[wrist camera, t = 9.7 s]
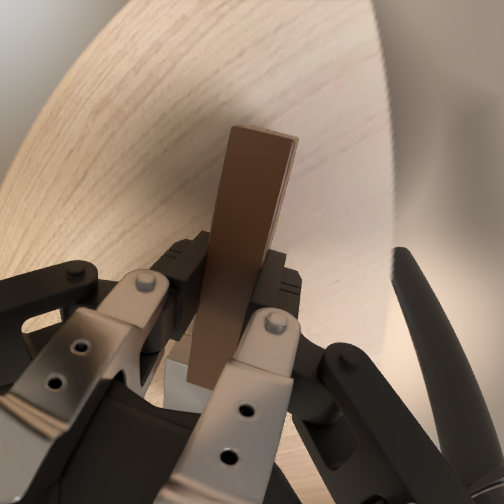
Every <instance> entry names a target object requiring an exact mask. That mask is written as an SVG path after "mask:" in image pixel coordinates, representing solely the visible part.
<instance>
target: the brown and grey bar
mask: <svg viewBox="0 0 504 504" xmlns="http://www.w3.org/2000/svg"><path fill="white" fill-rule="evenodd" d="M298 141H299V138H298V137H295V136H292V135H288V134H284V133H280V132H276V131H272V130H268V129H263V128H259V127H255V126H233V127H232V128H231V132H230V136H229V141H228V145H227V150H226V155H225V159H224V164H223V169H222V174H221V178H220V183H219V188H218V193H217V198H216V203H215V208H214V214H213V219H212V224H211V229H210V235H209V240H208V245H207V251H206V252H207V258H206V263H205V269H204V274H203V280H202V286H201V292H200V298H199V304H198V310H197V312H196V316H195V323H194V329H193V336H192V337H191V336H189V335H186V334H184V335H183V336H182V338H181V340H180V342H178V341H176V342H175V344H174V346H173V347H172V349H171V350H170V352H169V354H168V355H167V357H166V366H165V382H164V401H163V408H165V409H171V410H178V411H185V412H193V413H202V412H203V410H204V408H205V406H206V404H207V402H208V400H209V398H210V395H211V393H212V391H213V389H214V387H215V385H216V383H217V381H218V379H219V377H220V375H221V373H222V371H223V369H224V367H225V364H226V362H227V361H228V359H229V358H232V357H233V355H234V353H235V351H236V348H237V344H238V340H239V337H240V333H241V329H242V325H243V322H244V318H245V314H246V310H247V307H248V303H249V300H250V297H251V294H252V291H253V289H254V286H255V283H256V280H257V277H258V275H259V272H260V269H262V268H263V265H264V262H265V259H266V256H267V253H268V250H269V249H270V247H271V243H272V240H273V236H274V232H275V229H276V225H277V221H278V218H279V214H280V210H281V206H282V203H283V199H284V195H285V191H286V187H287V184H288V180H289V176H290V172H291V168H292V165H293V161H294V157H295V153H296V149H297V145H298Z"/></svg>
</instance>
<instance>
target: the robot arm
mask: <svg viewBox="0 0 504 504" xmlns="http://www.w3.org/2000/svg"><path fill="white" fill-rule="evenodd" d="M209 235H210V232H207V231H203V230H202V231H201V232H200V233H199V234H198V236H197V237H196V238H195V239H194V240H193V241H192V240H188V239H184V240H181V241H178V242H176V243H174V244H173V245H172V246H171V247H170V248H169V250H167V251H166V252H165V253H164V255H162V256H161V257H160V258H159V259H158V260H157V261H156V262H155V263H154V264H153V265H152V267H151V268H150V269H149V270H148V269H139V270H134V271H131V272H129V273H127V274H126V275H125V276H124V277H123V278H122V279H121V280H120V281H119V282H117V281H109V280H101V279H98V270H97V268H96V266H95V265H93V264H92V263H90V262H87V261H82V260H74V261H68V262H64V263H61V264H57V265H53V266H50V267H46V268H42V269H39V270H35V271H32V272H28V273H24V274H21V275H17V276H14V277H10V278H7V279H4V280H0V504H302V503H301V501H300V500H299V498H298V496H297V495H296V493H295V492H294V490H293V488H292V487H291V485H290V484H289V482H288V480H287V479H286V477H285V475H284V474H283V472H282V471H281V469H280V468H279V467H278V465H277V464H276V463H275V462H274V460H275V457H276V453H277V449H278V445H279V441H280V438H281V434H282V430H283V426H284V422H285V417H286V413H287V412H289V413H291V414H292V421H293V423H294V425H295V427H296V429H297V431H298V433H299V435H300V437H301V439H302V441H303V443H304V445H305V447H306V449H307V451H308V452H309V454H310V456H311V458H312V460H313V462H314V464H315V466H316V468H317V470H318V472H319V474H320V475H321V477H322V479H323V481H324V483H325V485H326V487H327V489H328V490H329V492H330V494H331V496H332V498H333V500H334V501H335V503H336V504H504V482H500V483H497V484H494V485H491V486H488V487H486V488H483V489H481V490H479V491H477V492H475V493H473V494H471V495H470V494H469V492H468V491H467V490H466V488H465V487H464V485H463V484H462V482H461V481H460V480H459V478H458V477H457V475H456V474H455V472H454V471H453V470H452V468H451V467H450V465H449V464H448V463H447V461H446V460H445V458H444V457H443V456H442V454H441V453H440V451H439V450H438V449H437V447H436V446H435V445H434V443H433V442H432V440H431V439H430V438H429V436H428V435H427V434H426V432H425V431H424V430H423V428H422V427H421V425H420V424H419V423H418V421H417V420H416V419H415V417H414V416H413V415H412V413H411V412H410V411H409V409H408V408H407V407H406V405H405V404H404V403H403V401H402V400H401V399H400V397H399V396H398V395H397V393H396V392H395V391H394V389H393V388H392V387H391V385H390V384H389V383H388V381H387V380H386V379H385V377H384V376H383V375H382V374H381V372H380V371H379V370H378V368H377V367H376V366H375V364H374V363H373V362H372V360H371V359H370V358H369V357H368V355H367V354H366V353H365V352H364V351H363V350H361V349H360V348H358V347H356V346H354V345H352V344H348V343H342V342H339V343H333V344H331V345H329V346H328V347H327V348H326V350H325V349H323V348H321V347H319V346H317V345H316V344H314V343H312V342H310V341H309V340H308V339H307V338H305V337H304V336H303V334H302V333H301V326H300V324H299V322H298V312H299V303H300V294H301V284H302V279H301V277H300V275H299V273H298V271H296V270H293V269H289V268H286V267H284V265H285V260H286V255H287V254H285V253H281V252H278V251H274V250H271V249H269V250H268V253H267V256H266V259H265V262H264V265H263V268H262V269H260V272H259V275H258V277H257V280H256V283H255V286H254V289H253V291H252V294H251V297H250V300H249V303H248V307H247V310H246V314H245V318H244V322H243V325H242V329H241V333H240V337H239V340H238V344H237V348H236V351H235V353H234V355H233V357H232V358H229V359H228V361H227V362H226V364H225V367H224V369H223V371H222V373H221V375H220V377H219V379H218V381H217V383H216V385H215V387H214V389H213V391H212V393H211V395H210V398H209V400H208V402H207V404H206V406H205V408H204V410H203V412H202V413H193V412H185V411H178V410H171V409H165V408H159V407H156V406H154V405H152V404H150V403H149V402H148V401H146V400H145V399H144V396H145V393H146V391H147V389H148V387H149V385H150V383H151V381H152V379H153V376H154V374H155V372H156V370H157V368H158V366H159V364H160V362H161V360H162V358H163V355H164V351H165V345H166V344H167V342H168V340H169V339H173V340H175V341H178V342H180V340H181V338H182V336H183V335H184V333H185V331H186V329H187V328H188V326H189V324H190V322H191V321H192V319H193V317H194V315H195V314H196V312H197V310H198V304H199V298H200V292H201V286H202V280H203V274H204V269H205V263H206V258H207V252H206V251H207V245H208V240H209ZM56 309H60V314H61V320H62V322H60V323H57V324H54V325H51V326H48V327H45V328H42V329H40V330H37V331H34V332H31V333H27V334H26V333H22V331H21V327H22V324H23V323H24V322H25V321H26V320H27V319H29V318H32V317H35V316H38V315H41V314H44V313H47V312H50V311H53V310H56Z"/></svg>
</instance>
